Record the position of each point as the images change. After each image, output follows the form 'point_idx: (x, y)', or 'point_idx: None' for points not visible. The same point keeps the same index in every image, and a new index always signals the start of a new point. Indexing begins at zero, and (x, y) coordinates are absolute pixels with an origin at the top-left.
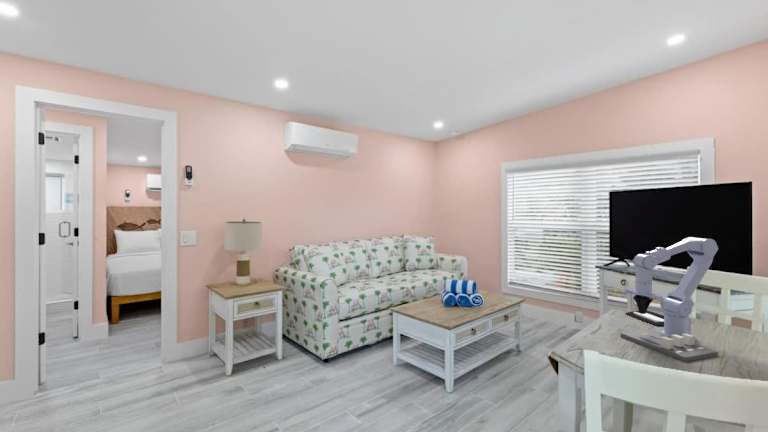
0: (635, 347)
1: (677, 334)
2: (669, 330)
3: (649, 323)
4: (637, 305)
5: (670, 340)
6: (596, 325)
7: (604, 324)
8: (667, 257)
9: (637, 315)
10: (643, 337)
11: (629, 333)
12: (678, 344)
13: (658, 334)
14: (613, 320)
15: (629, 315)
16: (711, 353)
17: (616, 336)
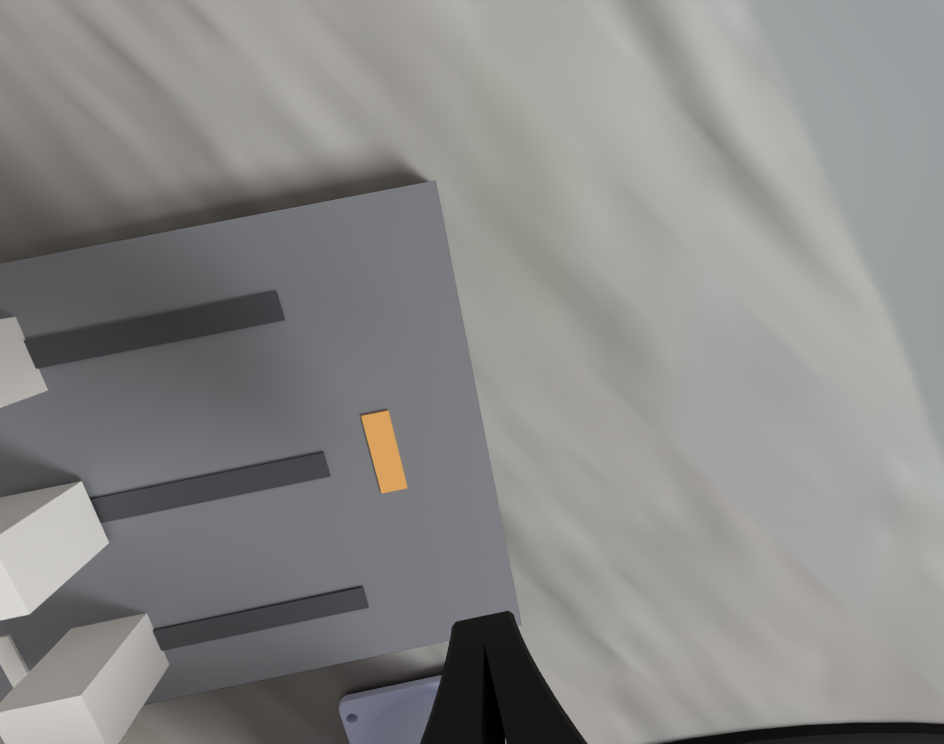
0: (104, 82)
1: (371, 739)
2: (416, 730)
3: (701, 742)
4: (565, 726)
5: None
6: (793, 176)
7: (794, 305)
8: None
9: None
10: (284, 349)
11: (414, 285)
12: None
13: (369, 577)
14: (860, 497)
15: (909, 728)
16: None
17: (443, 135)
